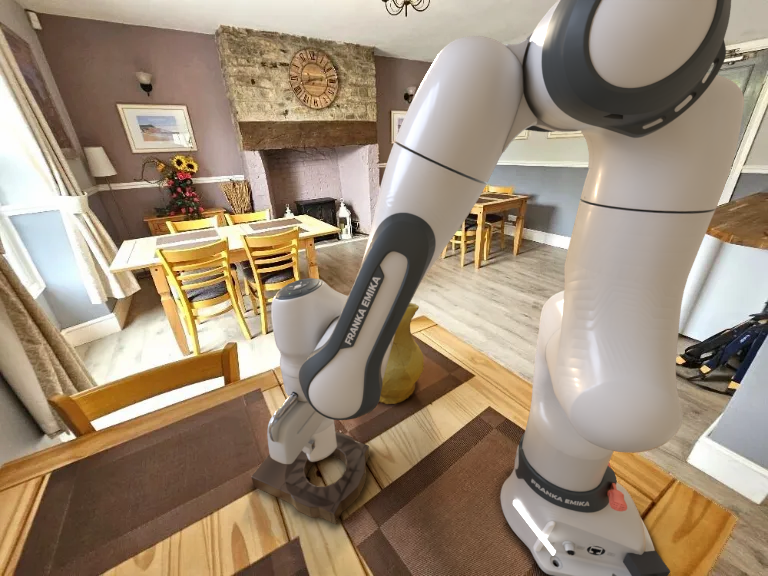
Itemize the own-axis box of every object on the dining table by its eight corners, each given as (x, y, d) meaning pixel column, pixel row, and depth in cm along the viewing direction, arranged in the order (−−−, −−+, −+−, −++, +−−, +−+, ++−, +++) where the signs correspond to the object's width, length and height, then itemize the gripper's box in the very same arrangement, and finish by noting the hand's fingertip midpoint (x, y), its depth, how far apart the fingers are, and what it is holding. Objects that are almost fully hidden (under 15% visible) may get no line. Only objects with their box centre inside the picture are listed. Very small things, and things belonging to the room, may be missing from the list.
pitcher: (406, 420, 72) (403, 326, 63) (343, 396, 81) (331, 310, 72) (434, 378, 86) (434, 295, 77) (376, 361, 95) (370, 285, 86)
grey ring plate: (377, 455, 65) (377, 445, 64) (342, 532, 52) (340, 521, 51) (299, 427, 72) (298, 418, 70) (251, 489, 59) (248, 479, 58)
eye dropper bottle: (336, 460, 56) (330, 412, 51) (305, 463, 56) (296, 414, 51) (337, 440, 60) (332, 393, 55) (308, 442, 60) (300, 395, 55)
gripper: (286, 429, 41) (300, 495, 47) (356, 344, 58) (359, 400, 64) (249, 415, 43) (266, 480, 49) (326, 337, 60) (333, 392, 66)
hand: (319, 434), depth 56 cm, fingers closed on eye dropper bottle, 5 cm apart
